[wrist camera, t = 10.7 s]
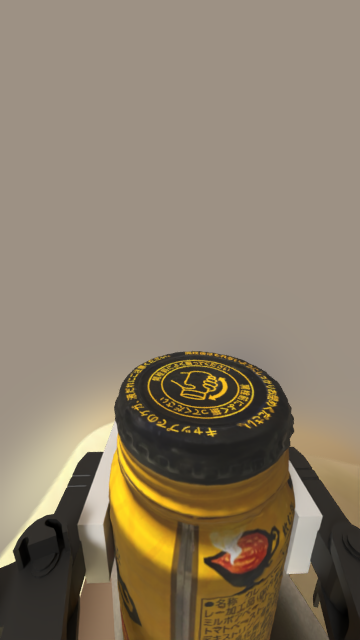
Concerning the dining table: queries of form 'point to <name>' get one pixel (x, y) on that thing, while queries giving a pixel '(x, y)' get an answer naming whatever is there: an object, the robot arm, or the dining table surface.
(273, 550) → the condiment
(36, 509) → the dining table surface
